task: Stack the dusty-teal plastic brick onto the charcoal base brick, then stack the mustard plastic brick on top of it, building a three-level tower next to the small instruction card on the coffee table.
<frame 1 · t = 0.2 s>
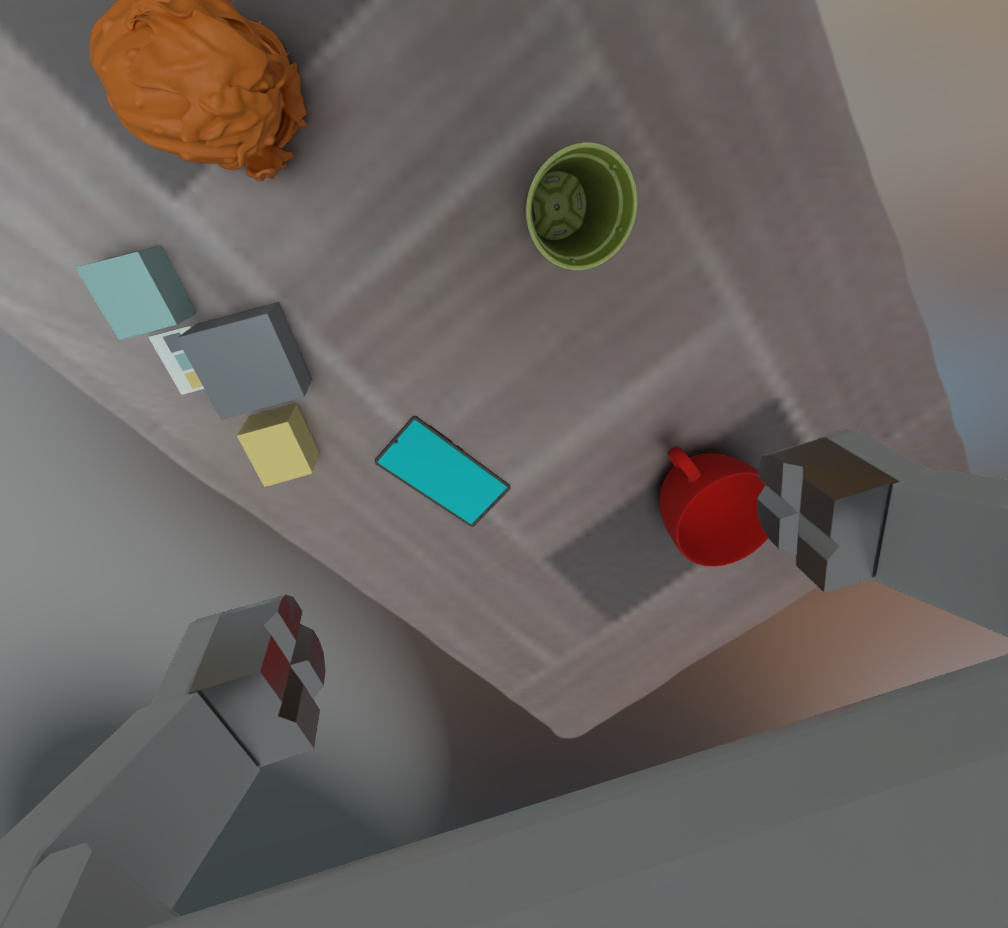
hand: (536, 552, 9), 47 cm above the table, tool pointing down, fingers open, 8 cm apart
brick mustard: (285, 434, 56), on the table
ceramic cup: (680, 469, 68), on the table
orange figurine: (248, 107, 43), on the table
plant pot: (554, 205, 51), on the table
brick teal: (152, 286, 48), on the table
instruction card: (186, 360, 51), on the table
smartphone: (444, 471, 63), on the table
tower base: (256, 353, 52), on the table
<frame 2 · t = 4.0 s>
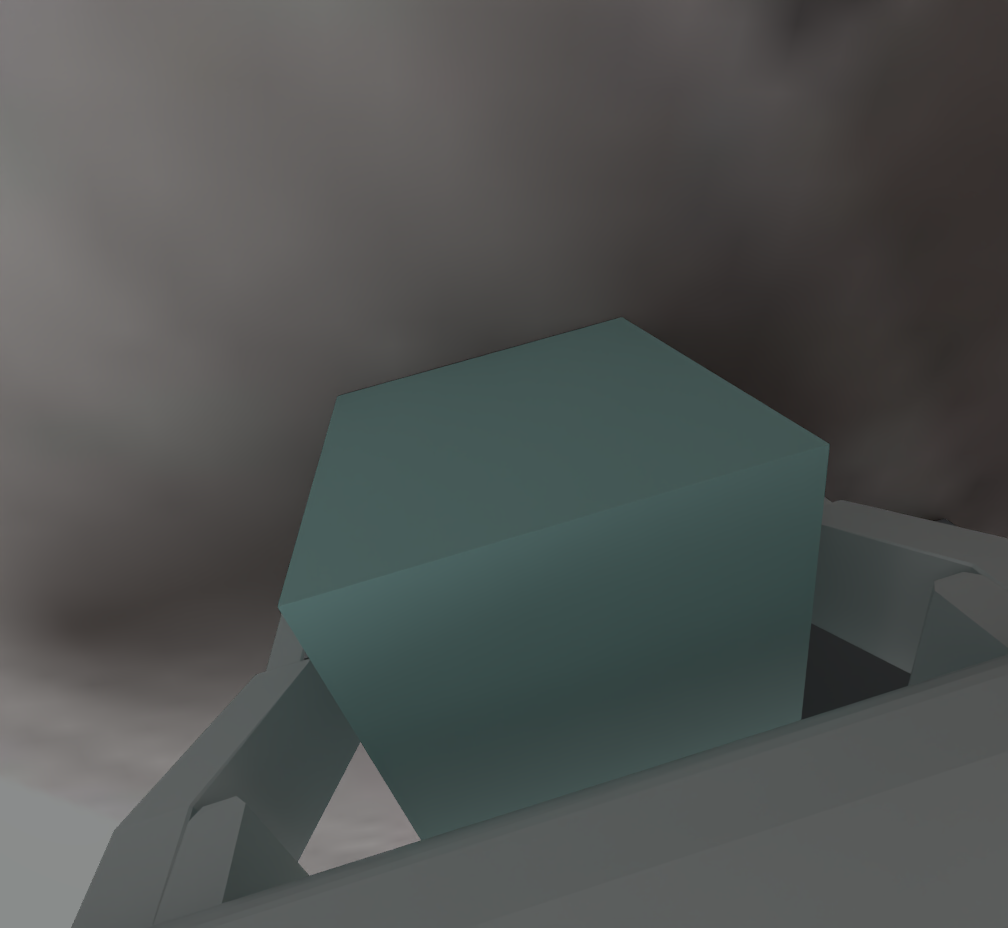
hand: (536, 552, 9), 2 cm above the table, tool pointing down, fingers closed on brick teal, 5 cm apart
brick teal: (517, 499, 10), on the table, touching gripper
tower base: (783, 672, 15), on the table
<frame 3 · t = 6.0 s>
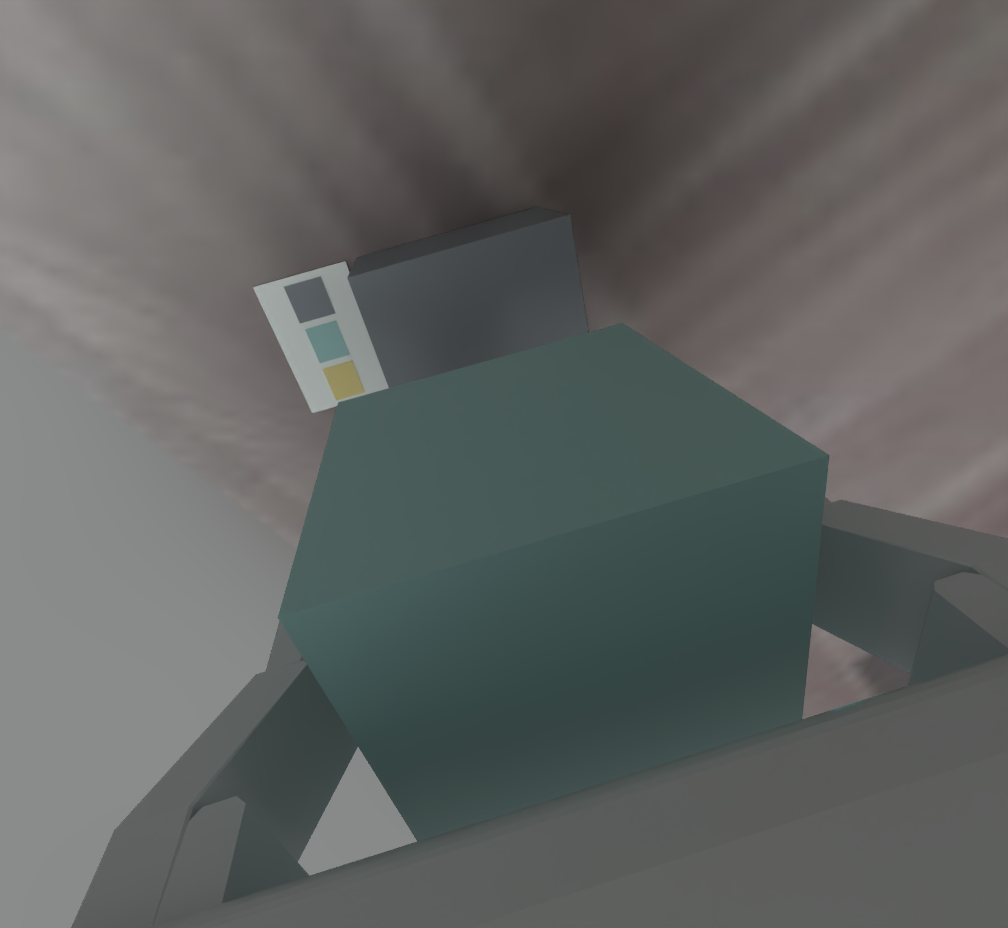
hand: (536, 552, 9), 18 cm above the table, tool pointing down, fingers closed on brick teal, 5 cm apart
brick teal: (518, 504, 10), point 16 cm above the table, touching gripper
instruction card: (328, 341, 24), on the table
tower base: (472, 322, 24), on the table
when the fingers open (8 cm above the table, at t = 8.3 s): brick teal stays where it is, resting on tower base.
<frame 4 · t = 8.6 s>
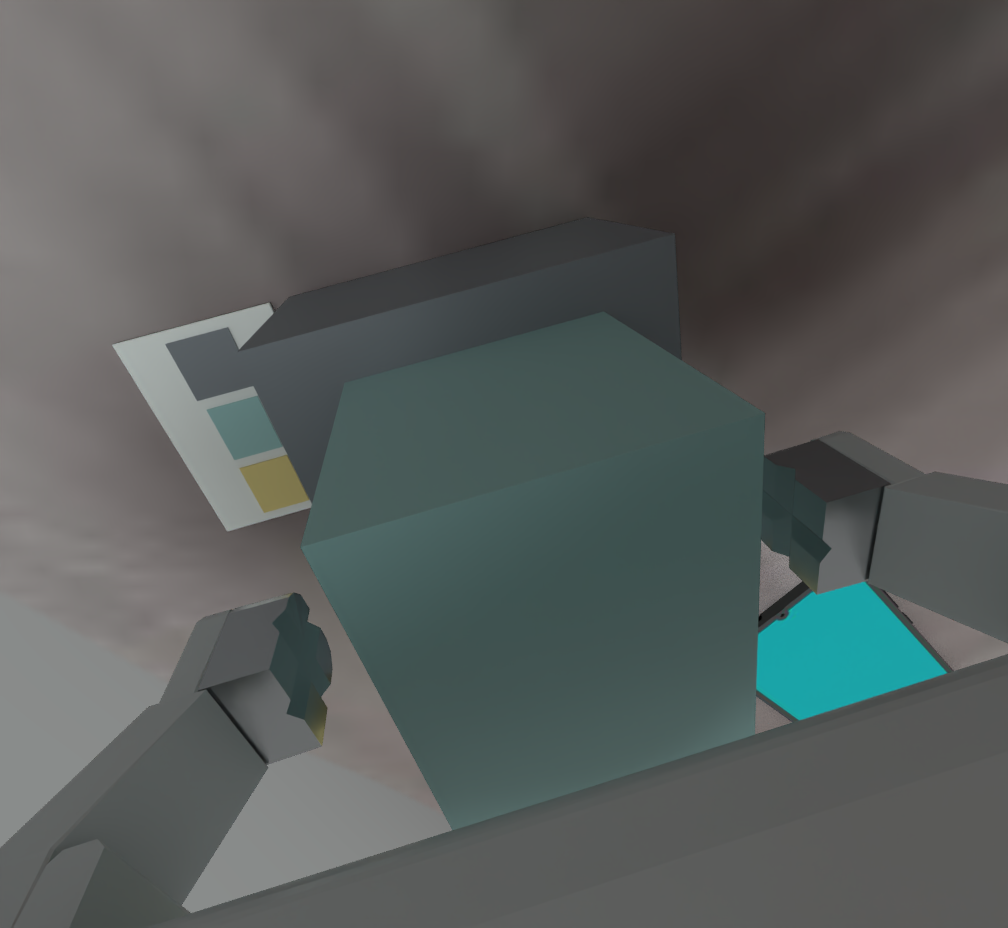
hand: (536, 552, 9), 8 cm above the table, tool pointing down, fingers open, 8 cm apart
brick teal: (510, 480, 11), point 5 cm above the table, touching tower base
instruction card: (247, 426, 15), on the table
smartphone: (839, 661, 26), on the table
tower base: (477, 396, 16), on the table
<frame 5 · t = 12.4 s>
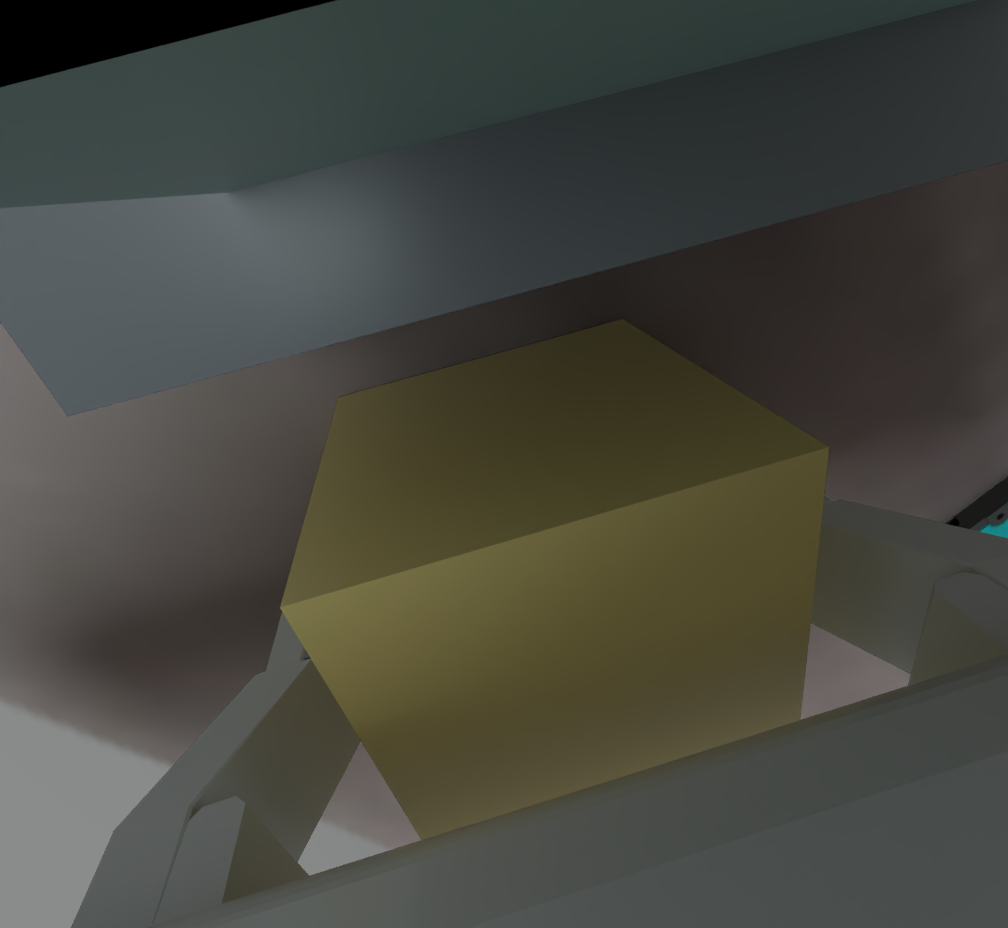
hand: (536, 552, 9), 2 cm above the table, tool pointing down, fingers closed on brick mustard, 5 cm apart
brick mustard: (518, 500, 10), on the table, touching gripper
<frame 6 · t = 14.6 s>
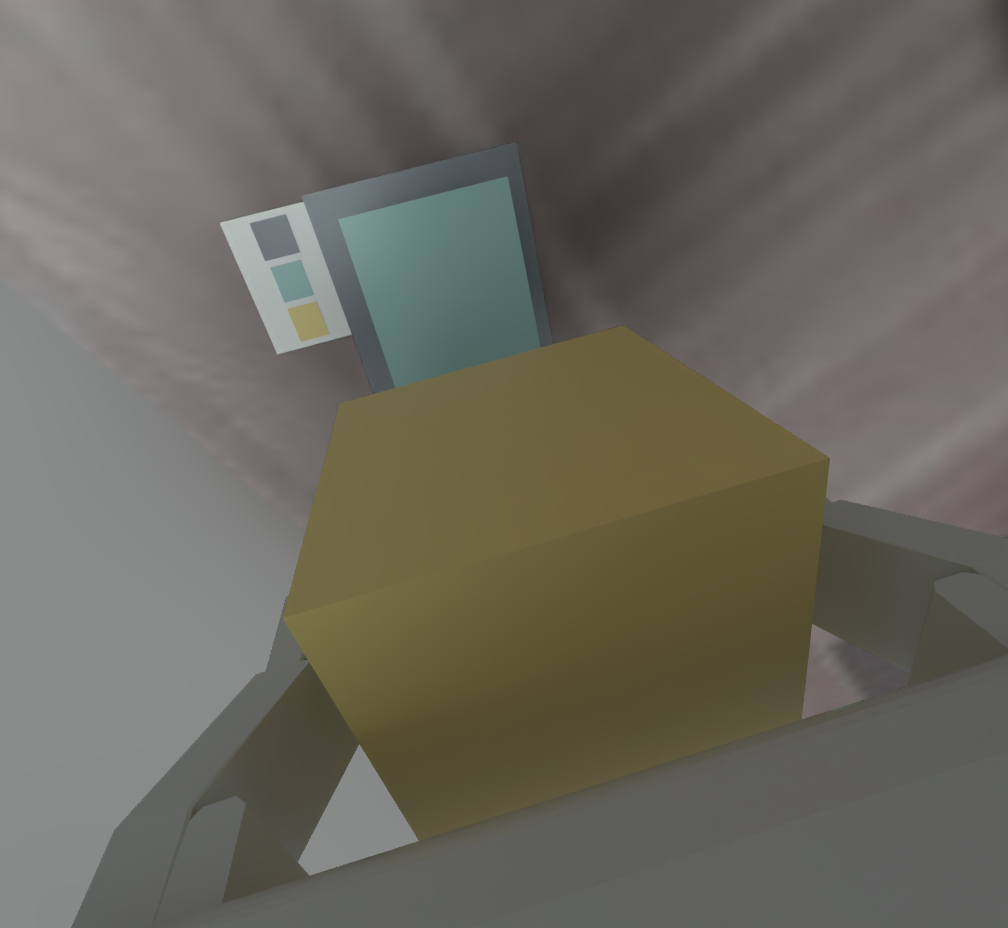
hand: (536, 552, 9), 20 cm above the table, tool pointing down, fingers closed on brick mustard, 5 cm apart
brick mustard: (519, 505, 10), point 18 cm above the table, touching gripper
brick teal: (441, 281, 21), point 5 cm above the table, touching tower base
instruction card: (293, 281, 24), on the table
tower base: (434, 267, 25), on the table
when the fingers open (13 cm above the table, at t = 16.8 s): brick mustard stays where it is, resting on brick teal.
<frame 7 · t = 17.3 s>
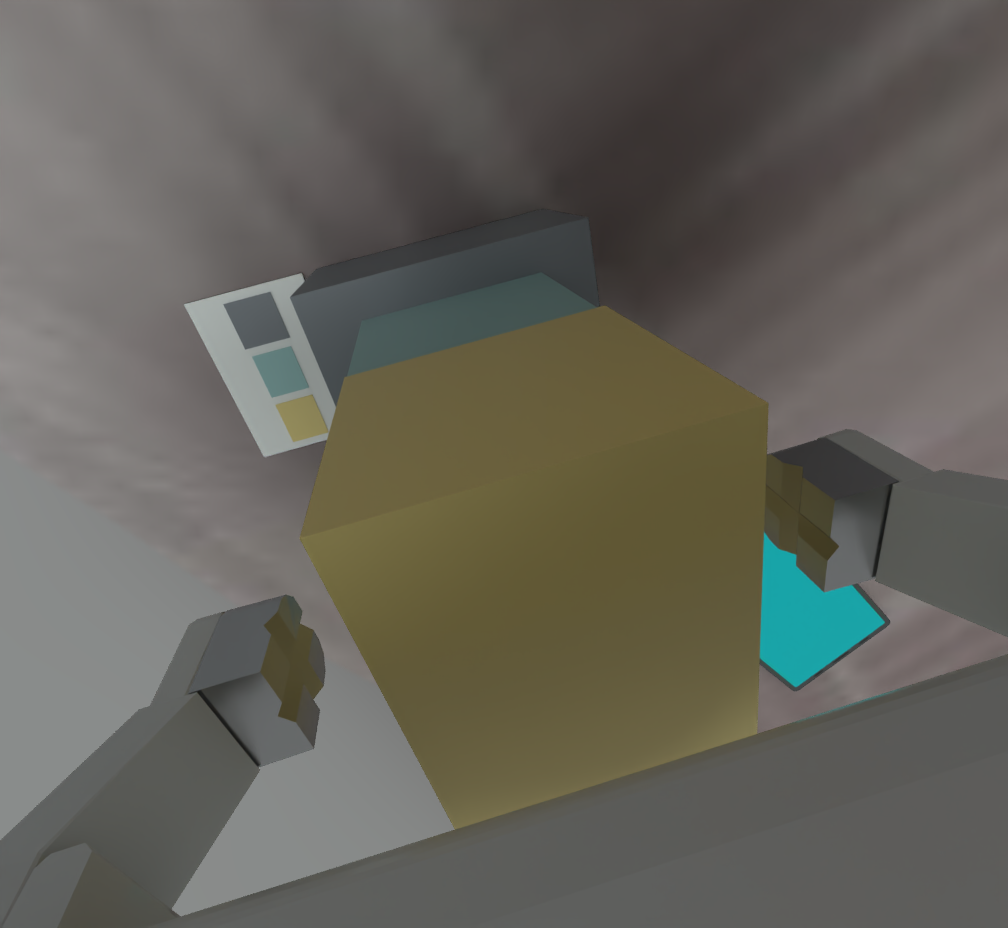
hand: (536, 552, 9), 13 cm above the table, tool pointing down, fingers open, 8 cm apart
brick mustard: (510, 475, 11), point 10 cm above the table, touching brick teal
brick teal: (479, 397, 16), point 5 cm above the table, touching brick mustard, tower base
instruction card: (281, 371, 19), on the table
smartphone: (776, 593, 30), on the table
tower base: (461, 349, 20), on the table
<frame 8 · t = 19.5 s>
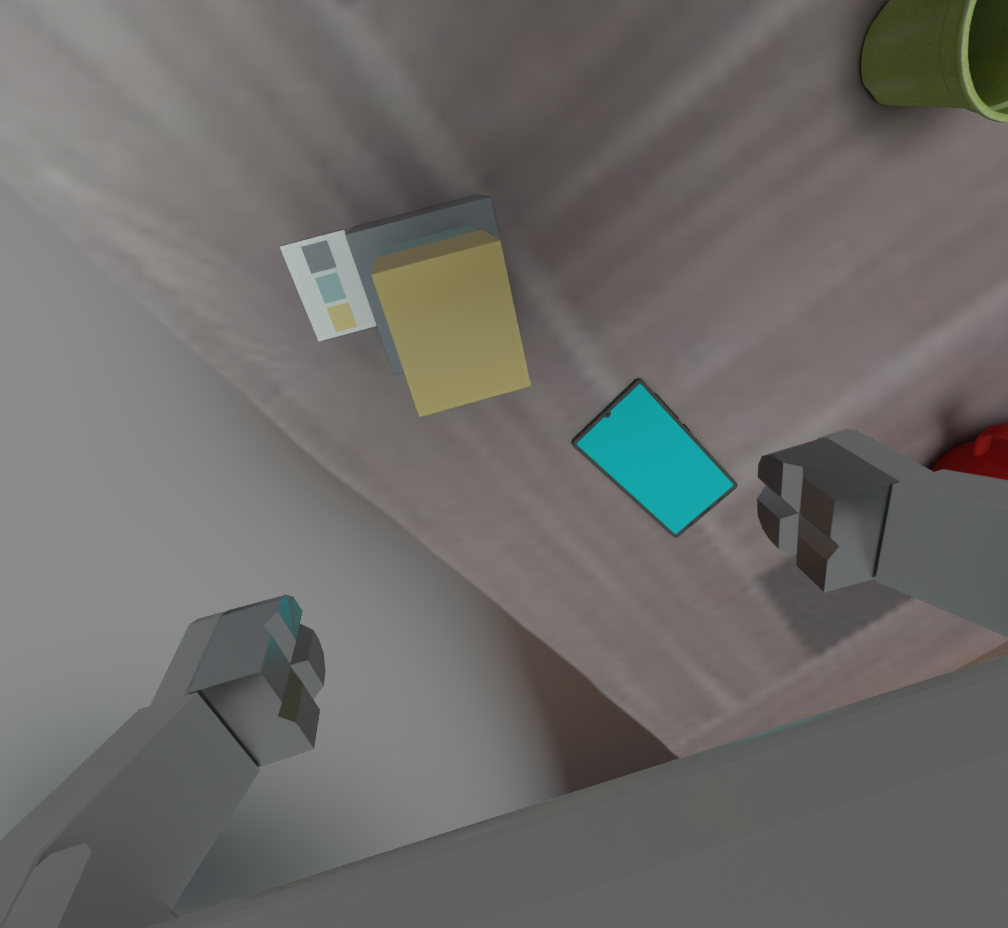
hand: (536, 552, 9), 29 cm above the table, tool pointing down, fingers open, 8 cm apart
brick mustard: (447, 308, 25), point 10 cm above the table, touching brick teal
ceramic cup: (951, 457, 50), on the table
plant pot: (901, 46, 33), on the table
brick teal: (440, 291, 30), point 5 cm above the table, touching brick mustard, tower base
instruction card: (330, 287, 33), on the table
smartphone: (655, 460, 45), on the table
tower base: (434, 277, 34), on the table
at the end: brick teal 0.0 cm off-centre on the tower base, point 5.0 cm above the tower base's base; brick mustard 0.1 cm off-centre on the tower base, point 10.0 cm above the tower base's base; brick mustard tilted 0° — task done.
